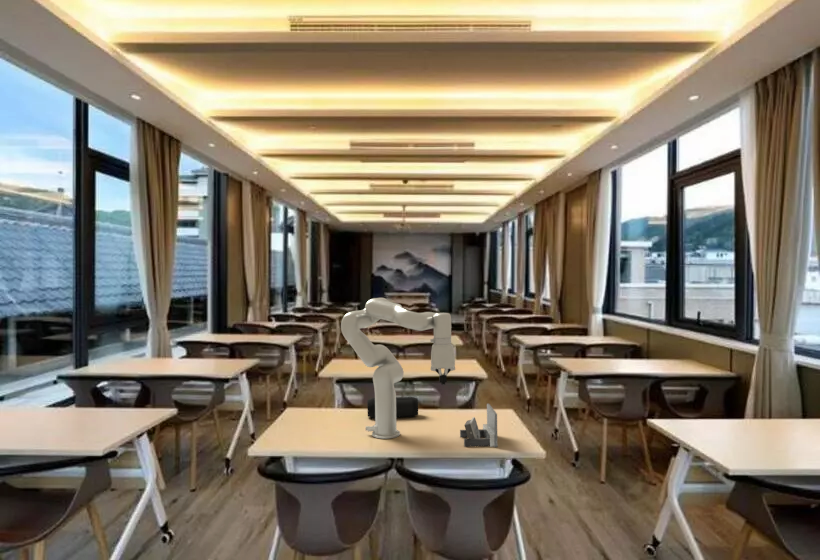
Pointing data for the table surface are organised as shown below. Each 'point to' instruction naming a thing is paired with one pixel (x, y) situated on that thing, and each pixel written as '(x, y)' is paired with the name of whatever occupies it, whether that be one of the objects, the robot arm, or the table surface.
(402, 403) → the portable speaker
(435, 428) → the table surface
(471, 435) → the electrical switch
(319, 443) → the table surface
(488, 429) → the rail mount
